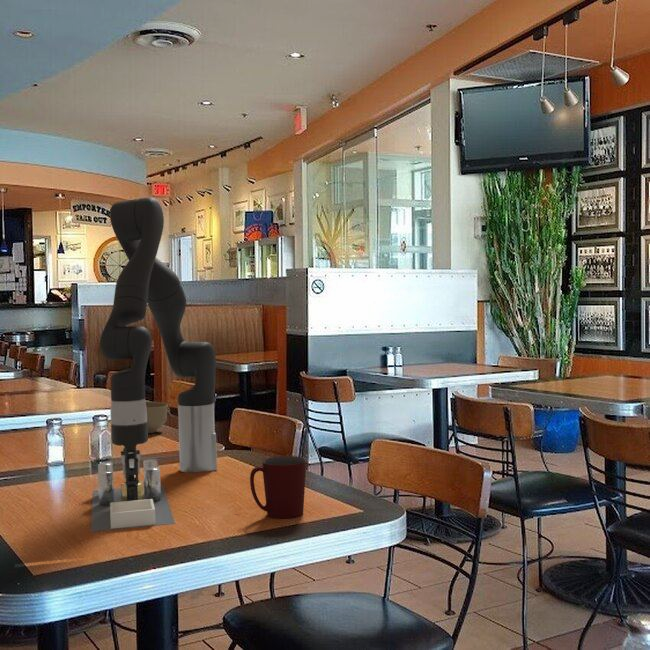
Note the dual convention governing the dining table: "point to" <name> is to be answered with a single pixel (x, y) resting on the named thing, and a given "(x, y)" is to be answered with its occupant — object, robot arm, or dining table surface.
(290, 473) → the mug
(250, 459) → the dining table surface
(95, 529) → the mat
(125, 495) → the nut
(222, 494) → the dining table surface
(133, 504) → the white square tray
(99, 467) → the spacers
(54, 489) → the dining table surface
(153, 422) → the bowl
